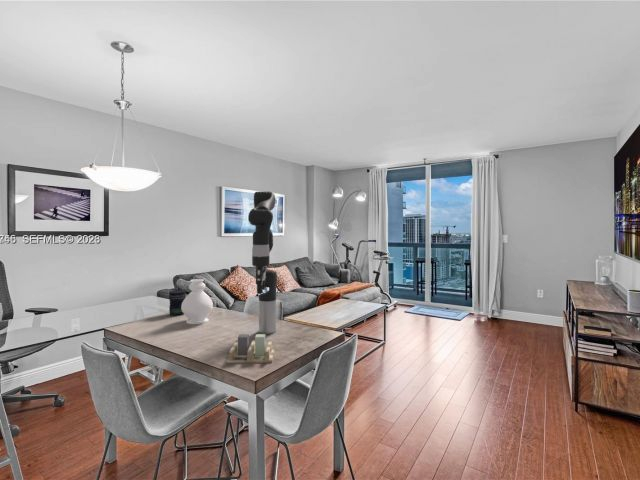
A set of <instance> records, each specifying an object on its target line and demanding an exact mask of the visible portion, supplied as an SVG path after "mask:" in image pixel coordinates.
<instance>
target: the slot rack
mask: <svg viewBox="0 0 640 480" xmlns="http://www.w3.org/2000/svg"><path fill="white" fill-rule="evenodd" d="M275 352H276V347H273V339H268V342H267V346H266V347H265V355H256V356H255V339H252V341H251V343H250V344H249V349H248V352H247V356H238V339H237V340H235V342H234V344H233V345H232V347H231V348H230V349H229V352H228V357H227V358H226V360H225V364H269V363H270V364H271V363H273V360H274V356H275V355H274V354H275Z"/></svg>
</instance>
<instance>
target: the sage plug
mask: <svg viewBox="0 0 640 480" xmlns="http://www.w3.org/2000/svg"><path fill="white" fill-rule="evenodd" d="M254 340H255V356H256V355H265V348H266V334H264V333H259V334H255V337H254Z"/></svg>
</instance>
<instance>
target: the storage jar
mask: <svg viewBox="0 0 640 480" xmlns="http://www.w3.org/2000/svg"><path fill="white" fill-rule="evenodd" d="M168 294H169V296H168V298H169V299H168V300H169V307H168V308H169V309H168V311H169V316H170V317H181V316H185V314H184V313H183V312H182V309H181V306H182V302H183V301H184V299H185V298H186V297H187V296H186V290H185V289H173V290H170V291H169V293H168Z"/></svg>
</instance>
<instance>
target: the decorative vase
mask: <svg viewBox="0 0 640 480" xmlns="http://www.w3.org/2000/svg"><path fill="white" fill-rule="evenodd" d="M204 281H205V279H204V278H193V279H190V282H191V283H189V286H188V289H189V290H190V291H191V292H189V293H188V294H187V296H185V299H184V301H183V302H182V306H181V309H182V312H183V313H184V316H185V317H186V318H187V320H186V321H185V322H186V324H189V325H201V324H205V323H208V322H209V318H208V315H210V313H211V311H212V310H213V308H214V303H213V300H212V298H211V297H210V296H209V295H208V294H207V293H206V292H205V291H204V290H205V289H206V284H205V283H204Z"/></svg>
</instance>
